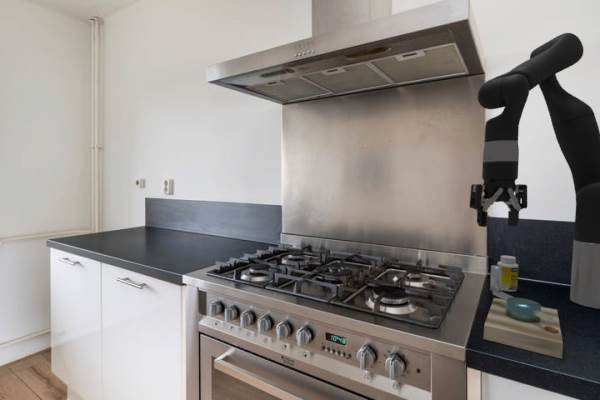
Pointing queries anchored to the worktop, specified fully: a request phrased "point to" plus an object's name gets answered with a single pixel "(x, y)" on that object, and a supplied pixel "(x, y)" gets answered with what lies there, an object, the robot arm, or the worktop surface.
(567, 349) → the worktop surface
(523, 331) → the stand
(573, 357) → the worktop surface
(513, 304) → the teal knob with stem
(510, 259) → the supplement bottle
